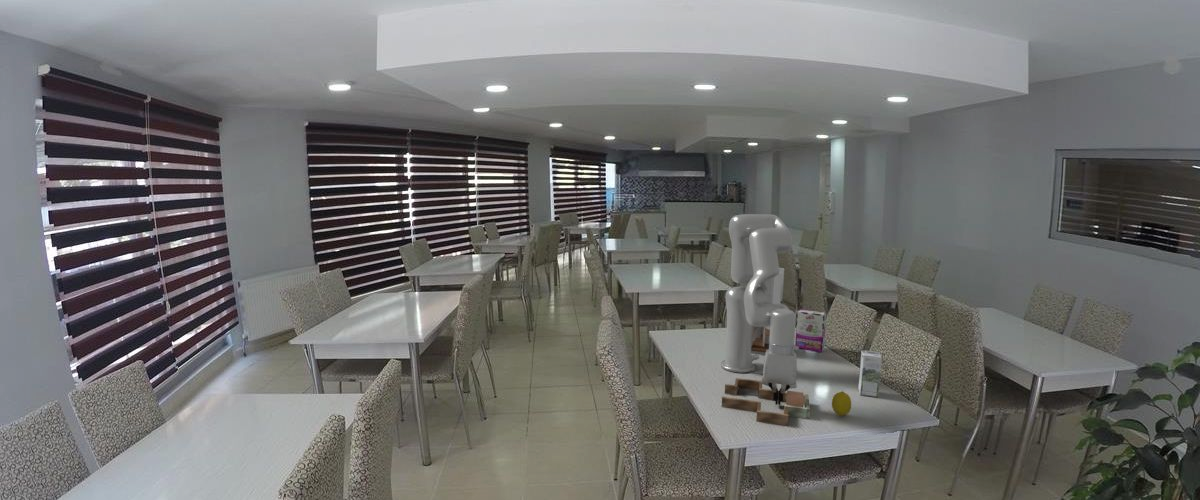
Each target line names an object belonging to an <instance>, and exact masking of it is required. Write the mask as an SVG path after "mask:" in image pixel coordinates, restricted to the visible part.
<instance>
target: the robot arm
mask: <svg viewBox="0 0 1200 500" xmlns="http://www.w3.org/2000/svg"><path fill="white" fill-rule="evenodd" d="M728 233H729V238H730V242H731V258H730V259H731V261H730V277H731V279H732V282H735V283H736V284H747V285H746V286H733V287H729V288H728V289H727V291H726V293H725V297H724V299H725V304H726V306H725V307H726V334H725V335H726V337H725V357H724V360H722V361H721V362H720V367H721V368H722V369H724V370H725V371H728V372H731V373H740V374H741V373H743V374H744V373H750V372H753V371H754V370H755V364H754V363H753V361H756V360H759V359H760V358H759V357H760V355H758V354H753V355H752V354H751V345H752V326H754V327H770V337H769V349H768V350H766V353H765V355H764V359H763V369H762V379H761V381H762V385H765V386H767V387H769V388H770V390H773V392H774V395H773V400H772V401H773V402H775V403H774V404H775V405H776V406H777V405H778V406H781V403H784V401H783V394H784V392H787V391H789V389H791V390H792V389H797V388H798V387H797V377H798V375H797V374H798V373H797V372H798V364H797V362H798V361H797V353H796V351H797V352H799V351H800V349H799V347H798V346H795V339H796V324H797V314H796V313H795V312H794V310H790V309H789V307H788V306H787V305H786V304H784V303H782V304H772V303H773V292H774V277H776V276H777V275H778V274H779V272H780V269H779V268H780V265H779V264H780V263H779V259H778V257H779V256H778V253H779V254H780V253H781V254H782V253H784V254H785V253H788V252H790V251H791V250H792V248H793V245H794V244H793V243H794V242H793V241H794V240H793V239H794V238H793V236H792V233H791V231H790V229H789V228H788V226H787V224H785V223H784V222H783V220H782V219H781V218H780V217H779V216H777V215H776V214H770V213H768V214H767V213H764V214H763V213H762V214H760V213H759V214H758V213H755V214H754V213H746V214H744V213H742V214H736V215H734V216H732V217H731V218H730V221H729V225H728ZM758 285H759V286H758ZM777 384H778V385H780V388H779V389H778V388H777V387H778V385H777ZM778 391H779V396H778Z"/></svg>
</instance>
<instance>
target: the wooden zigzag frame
mask: <svg viewBox="0 0 1200 500" xmlns="http://www.w3.org/2000/svg"><path fill="white" fill-rule="evenodd" d="M724 394H726V395H732V396H733V395H734V396H738V395H744V396H753V397H757V398H758V399H764V400H771V401H773V395H774V392H773V390H772V389H768V388H767V389H766V388H763V384H762V380H755V379H750V378H749V379H747V378H739V377H736V378H735V381H734V384H727V383H725V384H724ZM803 394H804V402H803V405H804V406H803V407H797V406H790V405H786V404H784V406H783V413H779V412H778V413H777V412H773V411H772V412H771V411H765V410H761V409H762V401H760V400H750V399H745V398H737V397H729V396H722V397H721V407H723V408H730V409H735V410H743V411H751V412H752V411H753V412H756V422H760V423H768V424H773V425H781V426H782V425H783V426H788V425H789V417H795V418H802V419H811V417H810V416H811V406H810V397H809V396H810V395H809V394H807V393H803ZM778 396H779V390H778ZM786 397H787V391H785V392H784V394H783V402H785V403H786Z"/></svg>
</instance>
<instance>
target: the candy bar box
mask: <svg viewBox="0 0 1200 500" xmlns="http://www.w3.org/2000/svg"><path fill="white" fill-rule="evenodd" d="M826 324H827V312H823V311H815V310H814V311H813V310H806V309H798V310H797V311H796V323H795V341H794V345H795V346H798V347H799V350H803V351H808V352H809V351H810V352H815V353H820V354H821V353H823V352H824V350H825V343H826V342H825V341H826V339H825V338H826Z"/></svg>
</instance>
